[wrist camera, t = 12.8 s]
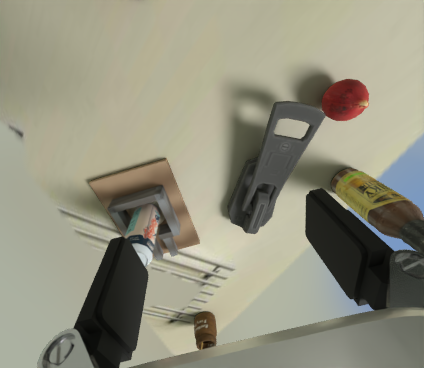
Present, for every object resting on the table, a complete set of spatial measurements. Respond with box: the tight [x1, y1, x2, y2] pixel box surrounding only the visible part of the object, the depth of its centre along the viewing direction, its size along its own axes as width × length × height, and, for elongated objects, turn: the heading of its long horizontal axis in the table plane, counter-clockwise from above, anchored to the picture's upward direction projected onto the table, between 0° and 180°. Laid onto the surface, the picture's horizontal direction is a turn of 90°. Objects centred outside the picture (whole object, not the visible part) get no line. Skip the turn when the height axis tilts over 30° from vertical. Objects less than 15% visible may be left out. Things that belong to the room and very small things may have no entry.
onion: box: [322, 79, 369, 121], centre depth 31 cm, size 6×6×8 cm
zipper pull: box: [228, 101, 326, 234], centre depth 37 cm, size 9×7×25 cm
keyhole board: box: [89, 158, 200, 260], centre depth 40 cm, size 20×14×4 cm
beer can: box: [125, 203, 161, 267], centre depth 35 cm, size 5×5×12 cm
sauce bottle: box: [331, 168, 424, 254], centre depth 34 cm, size 6×6×20 cm
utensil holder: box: [194, 312, 217, 350], centre depth 55 cm, size 6×6×12 cm
